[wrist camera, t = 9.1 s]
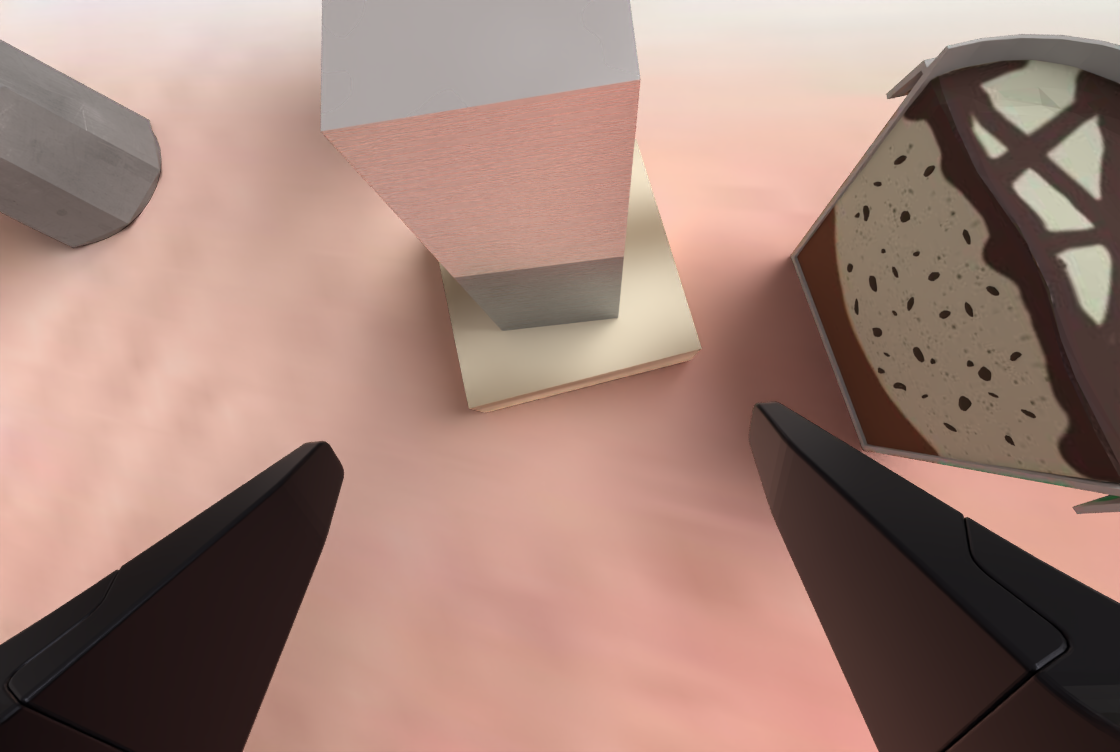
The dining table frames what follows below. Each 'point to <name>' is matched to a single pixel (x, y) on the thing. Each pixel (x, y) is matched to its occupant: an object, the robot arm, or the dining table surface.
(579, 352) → the stand
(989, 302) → the food container
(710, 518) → the dining table surface
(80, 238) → the coffeepot
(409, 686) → the dining table surface
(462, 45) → the block
